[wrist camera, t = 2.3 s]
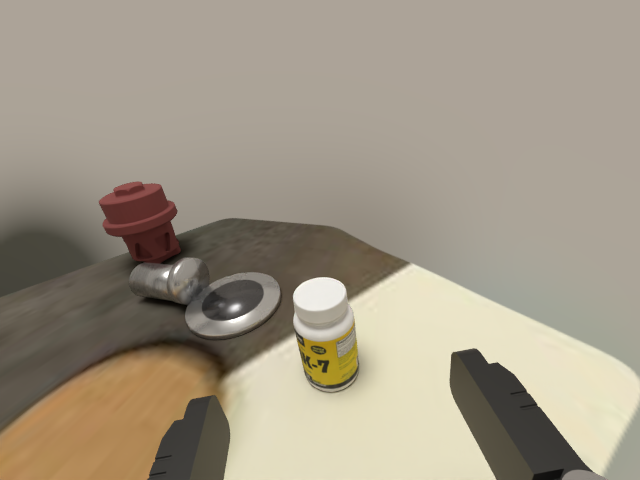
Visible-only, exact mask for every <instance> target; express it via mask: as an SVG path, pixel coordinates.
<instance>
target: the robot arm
mask: <svg viewBox="0 0 640 480" xmlns="http://www.w3.org/2000/svg"><path fill="white" fill-rule="evenodd" d="M450 388H451V392H452V395H453V398H454V400H455V402H456V404H457V406H458V408H459V410H460V412H461V413H462V415H463V417H464V419H465V421H466V423H467V425H468V427H469V428H470V430H471V432H472V434H473V436H474V438H475V440H476V442H477V443H478V445H479V447H480V449H481V451H482V453H483V455H484V457H485V459H486V460H487V462H488V464H489V466H490V468H491V470H492V472H493V474H494V475H495V477H496V479H497V480H607V479H605V478H604V477H602V476H600V475H598V474H596V473H594V472H593V471H592V470H591V469H590V468H589V467H588V466H586V465H585V463H584V462H583V461H582V460H581V459H580V458H579V456H578V455H577V454H576V453H575V451H574V450H573V449H572V447H571V446H570V445H569V444H568V442H567V441H566V440H565V439H564V437H563V436H562V435H561V433H560V432H559V431H558V430H557V428H556V427H555V426H554V425H553V423H552V422H551V421H550V419H549V418H548V417H547V416H546V414H545V413H544V412H543V411H542V409H541V408H540V407H538V406H537V403H536V402H535V400H534V399H533V398H532V397H531V395H530V394H528V393H527V390H526V389H525V388H524V386H523V385H522V384H521V383H520V381H519V380H518V379H517V378H516V376H515V375H514V374H513V373H511V372H510V371H508V370H507V369H506V368H504V367H503V366H502V365H500V364H499V363H498V362H497V363H492V364H488V362H487V361H486V360H485V358H484V357H483V356H482V354H481V353H480V352H479V351H478V350H477V349H469V350H463V351H458V352H453V353H452V355H451V369H450ZM229 443H230V428H229V423H228V420H227V418H226V416H225V414H224V412H223V410H222V407H221V405H220V403H219V401H218V399H217V397H216V396H215V395H212V396H207V397H202V398H196V399H192V400H190V402H189V403H188V406H187V409H186V412H185V415H184V418H183V419H182V420H177V421H174V422H173V424H172V425H171V427H170V428H169V430H168V431H167V432H166V434H165V435H164V437H163V438H162V440H161V443H160V446H159V449H158V452H157V454H156V457H155V462H154V463H153V465H152V468H151V471H150V474H149V479H147V480H223V479H224V473H225V467H226V461H227V455H228V449H229Z"/></svg>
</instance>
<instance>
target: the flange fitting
mask: <svg viewBox="0 0 640 480" xmlns="http://www.w3.org/2000/svg"><path fill="white" fill-rule="evenodd" d="M129 286H130V289H131V291H132V292H133V293H134V294H135V295H137V296H142V297H149V298H155V299H162V300H169V301H174V302H176V303H179V304H185V305H188V306H187V309H186V312H185V319H186V322H187V325H188V327H189V329H190V330H191V331H192V333H194V334H195V335H196V336H199V337H201V338H204V339H210V340H222V339H229V338H234V337H237V336H240V335H243V334H246V333H248V332H250V331H252V330H254V329H256V328H257V327H259V326H260V325H262V324H263V323H265V322H266V321H267V320H268V319H269V318H270V317H271V316H272V315H273V314H274V313H275V311H276V310H277V308H278V306H279V304H280V301H281V292H280V288H279V285H278V283H277V281H276V280H275V279H274V278H272V277H271V276H269V275H266V274H262V273H255V272H248V273H240V274H235V275H231V276H228V277H225V278H222V279H220V280H217V281H215V282H213V283H212V284H210V285H209V271H208V268H207V266H206V264H205V263H204V262H203V261H202V260H200V259H197V258H182V259H180V260H178V261H177V262H176V263H175V264H174V265H167V264H157V263H141V264H139V265H138V266H136V267H135V268H134V270H133V271H132V273H131V275H130V278H129Z"/></svg>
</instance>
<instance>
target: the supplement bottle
mask: <svg viewBox="0 0 640 480" xmlns="http://www.w3.org/2000/svg"><path fill="white" fill-rule="evenodd" d="M293 301H294V310H295V314H294V319H293V322H294V329H295V333H296V337H297V342H298V346H299V350H300V355H301V359H302V363H303V368H304V372H305V375H306V378H307V380H308V381H309V382H310V384H311V385H313V386H314V387H315V388H317V389H320V390H322V391H327V392H335V391H339V390H342V389H344V388H346V387H348V386H349V385H350V384H351V383H352V382H353V381H354V380H355V378H356V376H357V374H358V370H359V360H358V350H357V340H356V331H355V321H354V314H353V310H352V308H351V306H350V305H349V304H348V299H347V294H346V289H345V287H344V285H343V284H342V283H341V282H340V281H338V280H336V279H332V278H326V277H321V278H314V279H311V280H308V281H306V282H304V283H302V284H301V285H300V286H298V287H297V289H296V290H295V292H294V295H293Z"/></svg>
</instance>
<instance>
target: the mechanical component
mask: <svg viewBox="0 0 640 480" xmlns="http://www.w3.org/2000/svg"><path fill="white" fill-rule="evenodd" d="M99 204H100V206H101V208H102V210H103V212H104V214H105V216H106V219H105V220H104V222H103V227H104V229H105V231H106V233H107V234H109V235H112V236H116V237H122V238H123V240H124V242H125V243H126V245H127V247H128V250H129V252H130V254H131V256H132V258H133V259H134V260H136V261H144V262H145V263H157V264H160V263H162V262H163V261H165V260H166V259H168V258H170V257H172V256H174V255H177V254H179V253H180V251H181V249H180V247H179V241H178V240H177V239H176V237H175V233H174V230H173V227H172V224H171V222H170V221H171V220H172V219H173V218H174V217H175V216H176V214H177V209H176V207H175V204H174V203H173V202H171V201H167V199H166V197H165V194H164V192H163V189H162V187H161V185H159V184H142V182H132V183H127V184H124V185H121V186H118V187H116V188H114V192H113V193H110V194H108V195H106V196H105V197H103V198H102V199H101V200H100V201H99Z"/></svg>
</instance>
